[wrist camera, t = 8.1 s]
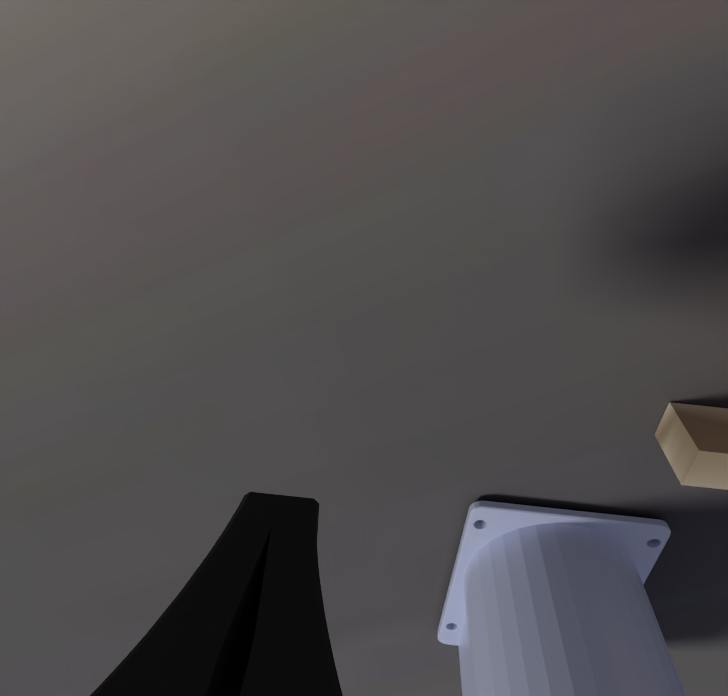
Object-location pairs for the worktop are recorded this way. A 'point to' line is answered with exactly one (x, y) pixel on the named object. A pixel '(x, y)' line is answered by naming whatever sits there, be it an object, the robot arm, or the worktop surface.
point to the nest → (696, 444)
